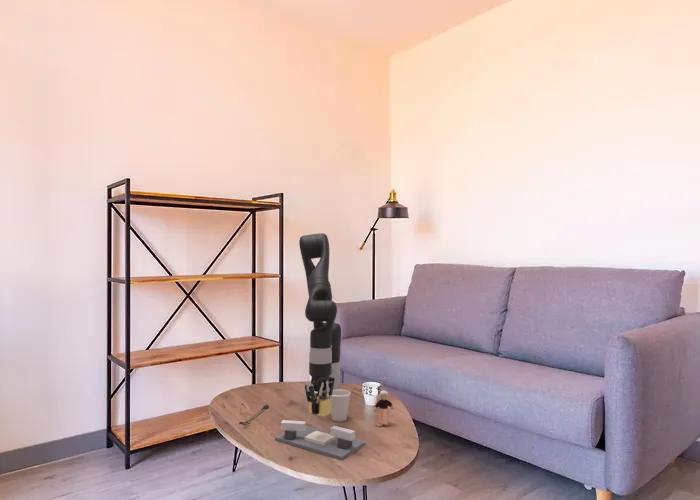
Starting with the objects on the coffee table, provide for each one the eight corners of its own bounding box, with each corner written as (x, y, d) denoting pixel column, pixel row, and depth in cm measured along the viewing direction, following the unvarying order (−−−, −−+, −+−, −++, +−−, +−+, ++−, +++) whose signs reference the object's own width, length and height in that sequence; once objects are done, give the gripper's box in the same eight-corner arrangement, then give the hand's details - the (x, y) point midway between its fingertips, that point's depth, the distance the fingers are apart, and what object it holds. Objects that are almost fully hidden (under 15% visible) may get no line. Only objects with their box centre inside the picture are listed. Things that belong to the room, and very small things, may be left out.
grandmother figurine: (377, 428, 169) (377, 393, 169) (372, 424, 173) (372, 390, 173) (395, 424, 173) (395, 390, 173) (389, 421, 176) (390, 387, 176)
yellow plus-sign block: (331, 412, 156) (331, 396, 157) (323, 416, 153) (323, 400, 153) (316, 409, 160) (316, 393, 160) (308, 413, 156) (308, 397, 156)
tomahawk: (254, 429, 170) (254, 426, 170) (238, 425, 172) (238, 422, 172) (279, 409, 190) (279, 407, 190) (264, 406, 192) (264, 404, 192)
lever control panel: (275, 440, 158) (275, 421, 158) (301, 427, 169) (301, 410, 169) (341, 460, 143) (342, 439, 143) (365, 444, 155) (365, 425, 155)
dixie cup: (325, 416, 181) (326, 390, 181) (346, 414, 184) (346, 388, 184) (331, 423, 173) (332, 396, 173) (353, 421, 176) (353, 394, 176)
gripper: (316, 366, 148) (315, 420, 148) (341, 358, 160) (341, 408, 160) (298, 362, 152) (297, 415, 152) (324, 355, 164) (323, 404, 164)
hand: (319, 411), depth 156 cm, fingers closed on yellow plus-sign block, 4 cm apart
